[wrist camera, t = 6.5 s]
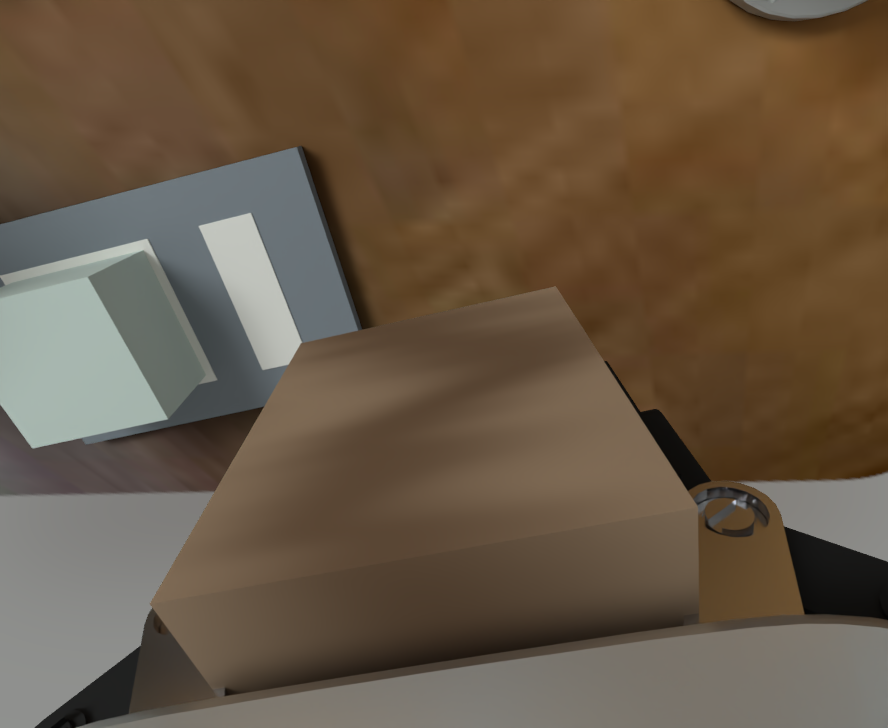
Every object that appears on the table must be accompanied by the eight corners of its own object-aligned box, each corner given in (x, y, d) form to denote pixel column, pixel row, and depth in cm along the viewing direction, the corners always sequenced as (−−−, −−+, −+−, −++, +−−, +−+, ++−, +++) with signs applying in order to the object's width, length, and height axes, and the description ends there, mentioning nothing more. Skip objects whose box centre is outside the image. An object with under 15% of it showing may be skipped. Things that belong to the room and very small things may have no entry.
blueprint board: (301, 145, 27) (296, 147, 26) (377, 375, 33) (375, 383, 32) (-38, 234, 29) (-54, 238, 28) (94, 435, 35) (85, 445, 34)
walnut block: (556, 286, 11) (698, 507, 5) (584, 490, 14) (700, 799, 8) (300, 343, 12) (149, 603, 6) (374, 529, 15) (326, 845, 8)
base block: (143, 249, 28) (87, 276, 24) (206, 374, 32) (168, 419, 27) (12, 282, 29) (-66, 314, 24) (88, 401, 32) (32, 448, 28)
